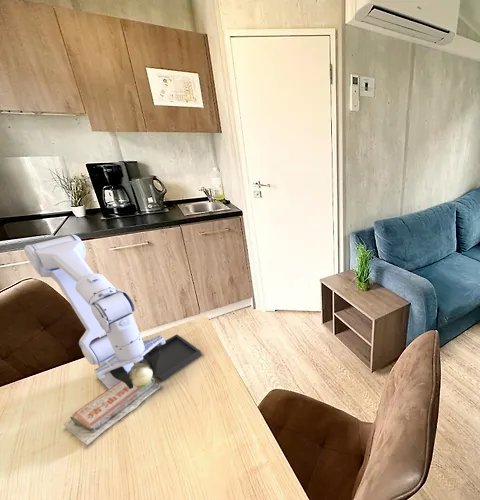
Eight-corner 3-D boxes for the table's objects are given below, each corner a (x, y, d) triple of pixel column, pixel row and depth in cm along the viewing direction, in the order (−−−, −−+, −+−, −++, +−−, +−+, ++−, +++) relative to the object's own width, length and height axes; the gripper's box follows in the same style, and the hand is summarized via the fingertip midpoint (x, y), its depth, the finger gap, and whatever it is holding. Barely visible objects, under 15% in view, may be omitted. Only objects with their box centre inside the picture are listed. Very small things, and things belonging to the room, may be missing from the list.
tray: (139, 360, 91) (137, 356, 90) (178, 338, 100) (176, 334, 100) (161, 381, 84) (159, 376, 83) (201, 355, 93) (200, 350, 92)
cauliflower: (128, 385, 74) (121, 369, 72) (150, 372, 78) (144, 356, 76) (137, 395, 72) (130, 378, 69) (159, 380, 76) (153, 365, 73)
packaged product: (135, 364, 83) (157, 375, 80) (140, 376, 85) (161, 388, 82) (57, 416, 69) (79, 433, 65) (65, 429, 71) (87, 447, 67)
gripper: (94, 365, 61) (115, 408, 67) (165, 328, 72) (178, 367, 78) (83, 351, 65) (104, 393, 70) (152, 318, 76) (165, 357, 81)
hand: (142, 379), depth 74 cm, fingers closed on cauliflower, 5 cm apart
